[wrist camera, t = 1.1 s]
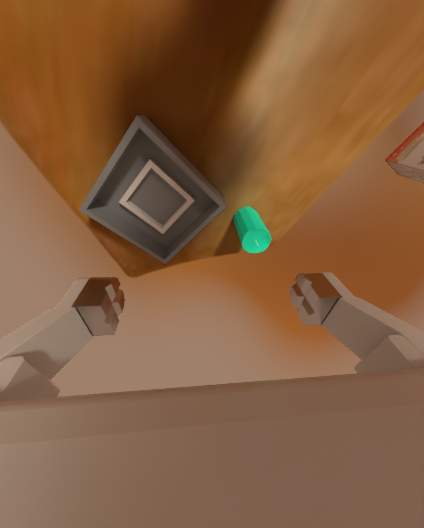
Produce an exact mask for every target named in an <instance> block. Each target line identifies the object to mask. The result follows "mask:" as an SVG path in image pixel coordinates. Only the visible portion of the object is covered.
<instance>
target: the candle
mask: <svg viewBox="0 0 424 528" xmlns="http://www.w3.org/2000/svg"><path fill="white" fill-rule="evenodd" d="M233 222H234V224H235V227H236V230H237V233H238V236H239V238H240V241H241V244H242V246H243V249H244V250H246V251H247V252H250V253H259V252H263V251H264V250H265V249H266V248H267V247H268V246H269V244H270V242H271V236H270V233H269V231H268V230H267V228H266V226H265V225H264V223H263V221H262V220H261V218H260V217H259V215H258V213H257V212H256V211H255V210H254V209H253V208H252V207H243V208H241V209H239V210H238V211H237V212H236V213H235V214H234V219H233Z"/></svg>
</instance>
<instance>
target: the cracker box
mask: <svg viewBox="0 0 424 528" xmlns="http://www.w3.org/2000/svg"><path fill="white" fill-rule="evenodd" d="M386 162H387V163H388V164H389V165H390V166H391V167H392V168H393V169H394V170H395V172H396V173H397V174H399V175H401V176H405V177H407V178H410V179H413V180H417V181H419V182H423V183H424V123H423V124H422V125H421V126H420V127H419V128H418V129H416V130H415V131H414V132H413V133H412V134H411V136H409V137H408V138H407V139H406V140H405V141H404V142H403V143H402V144H401V145H400V146H399V147H398V148H397V149H396V150H395V151H394V152H393V153H392V154H391V155H390V156H389V157H388V158H387V159H386Z"/></svg>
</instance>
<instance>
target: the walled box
mask: <svg viewBox="0 0 424 528" xmlns="http://www.w3.org/2000/svg"><path fill="white" fill-rule="evenodd" d="M226 207H227V205H226V202H225V199H224V196H223V195H222V194H221V193H220V192H219V191H218V190H217V189H216V188H215V187H214V186H213V185H212V184H211V183H210V182H209V180H208V179H207V178H206V177H205V176H204V175H203V174H202V173H201V172H200V171H199V170H198V169H197V168H196V167H195V166H194V165H193V164H192V163H191V162H190V161H189V160H188V159H187V158H186V157H185V156H184V155H183V154H182V153H181V152H180V151H179V150H178V148H177V147H176V146H175V145H174V144H173V143H172V142H171V141H170V140H169V139H168V138H167V137H166V136H165V135H164V134H163V133H162V132H161V131H160V130H159V129H158V128H157V127H156V126H155V125H154V124H153V123H152V122H151V121H150V120H149V119H148V118H147V116H146V115H137V116H136V117H135V119H134V120H133V122H132V124H131V125H130V127H129V129H128V130H127V132H126V134H125V135H124V137H123V138H122V140H121V142H120V143H119V145H118V147H117V148H116V150H115V151H114V153H113V155H112V156H111V158H110V160H109V161H108V163H107V164H106V166H105V168H104V169H103V171H102V173H101V174H100V176H99V177H98V179H97V181H96V182H95V184H94V186H93V187H92V189H91V190H90V192H89V194H88V195H87V197H86V199H85V200H84V202H83V204H82V205H81V207H80V208H79V211H81V212H83V213H84V214H86V215H87V216H89V217H90V218H92V219H94V220H95V221H97V222H98V223H100V224H102V225H103V226H105V227H106V228H108V229H110V230H111V231H113V232H114V233H116V234H118V235H119V236H121V237H122V238H124V239H125V240H127V241H129V242H130V243H132V244H133V245H135V246H137V247H138V248H140V249H141V250H143V251H145V252H146V253H148V254H149V255H151V256H153V257H154V258H156V259H157V260H159V261H160V262H162V263H164V264H166V263H168V262H169V261H170V260H171V259H172V258H173V257H174V256H175V255H176V254H177V253H178V252H179V251H180V250H181V249H182V248H183V247H184V246H185V245H187V244H188V243H189V242H190V241H191V240H192V239H193V238H194V237H195V236H196V235H197V234H198V233H199V232H200V231H201V230H202V229H203V228H205V227H206V226H207V225H208V224H209V223H210V222H211V221H212V220H213V219H214V218H215V217H216V216H217V215H218V214H219V213H220V212H221V211H223V210H224V209H225V208H226Z"/></svg>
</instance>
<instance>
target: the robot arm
mask: <svg viewBox="0 0 424 528" xmlns="http://www.w3.org/2000/svg"><path fill="white" fill-rule="evenodd" d="M295 281H296V284H294V285H293V286H292V288H291V290H290V299H291V302H292V304H293V305H294V306H295V307H296V308H298V315H299V317H300V319H301V321H302V322H303V324H304V325H322V326H323V327H324V328H325V329H326V330H327V331H329V332H330V333H331V334H332V335H333V336H334V337H336V338H337V339H338V340H339V341H341V342H342V343H343V344H344V345H345V346H346V347H347V348H349V349H350V350H351V351H352V352H353V353H354V354H356V355H357V356H358V357H359V358H360V359H362V360H361V361H360V362H359V363H358V364H357V365H356V366H355V370H356V372H357V373H358V374H346V375H332V376H319V377H306V378H295V379H282V380H281V379H280V380H268V381H255V382H242V383H229V384H218V385H217V384H216V385H203V386H191V387H178V388H166V389H152V390H140V391H126V392H113V393H101V394H88V395H75V396H62V397H57V396H58V394H59V392H60V390H59V388H58V387H57V386H56V385H55V384H54V383H52V382H51V381H50V380H51V379H52V378H53V377H54V376H55V375H56V373H58V372H59V371H60V370H61V368H63V367H64V365H66V364H67V363H68V362H69V361H70V360H71V359H72V357H74V355H76V354H77V353H78V351H80V349H82V347H83V346H85V344H87V342H89V341H90V340H91V338H93V337H92V336H101V335H114V334H115V331H116V328H117V325H118V323H119V319H118V317H117V316H118V315H119V314H120V313H122V311H123V308H124V302H125V299H124V294H123V291H121V290H120V289H119V286H120V282H119V280H118V278H115V277H110V278H109V277H98V278H97V277H92V278H78V279H76V280H75V281H74V282H73V284H72V285H71V287H70V288H69V290H68V291H67V292H66V294H65V295H64V296H63V298H62V299H61V301H60V302H59V304H58V305H57V306H56V308H51V309H49V310H47V311H46V312H44V313H43V314H41V315H39V316H37V317H36V318H34V319H33V320H31V321H29V322H28V323H26V324H24V325H23V326H21V327H19V328H18V329H16V330H15V331H13V332H11V333H10V334H8V335H6V336H5V337H3V338H1V339H0V528H424V332H422V331H420V330H418V329H416V328H415V327H413V326H411V325H409V324H407V323H405V322H403V321H402V320H400V319H398V318H396V317H394V316H392V315H390V314H388V313H386V312H385V311H383V310H381V309H379V308H377V307H375V306H373V305H372V304H370V303H368V302H366V301H364V300H362V299H360V298H358V297H354V296H353V295H352V294H351V293H350V292H349V291H348V289H347V288H346V287H345V286H344V285H343V284H342V283H341V282H340V281H339V280H338V279H337V277H336V276H335V275H334V274H333V273H330V272H324V273H323V272H322V273H299V274H298V275H297V276H296V278H295Z"/></svg>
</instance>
